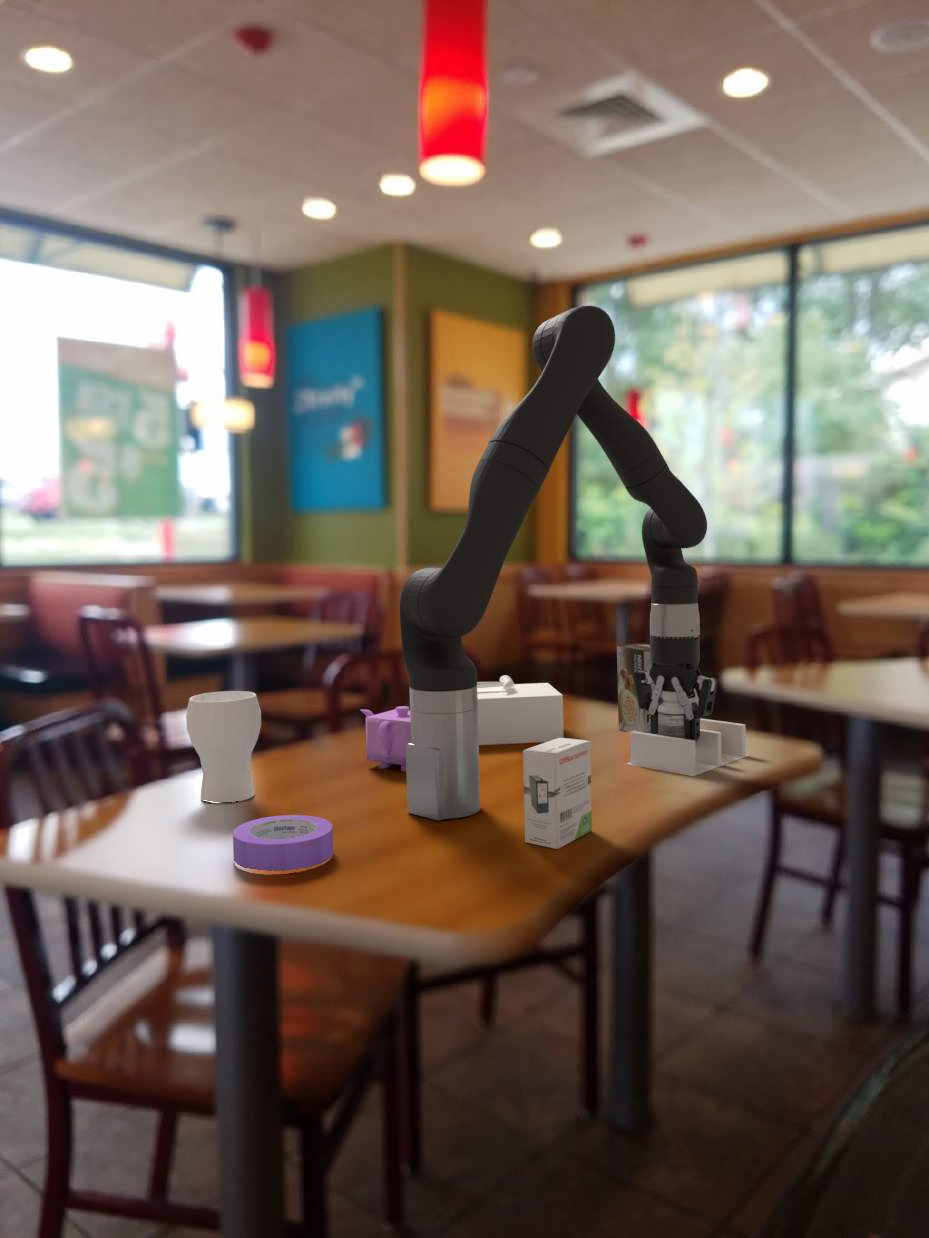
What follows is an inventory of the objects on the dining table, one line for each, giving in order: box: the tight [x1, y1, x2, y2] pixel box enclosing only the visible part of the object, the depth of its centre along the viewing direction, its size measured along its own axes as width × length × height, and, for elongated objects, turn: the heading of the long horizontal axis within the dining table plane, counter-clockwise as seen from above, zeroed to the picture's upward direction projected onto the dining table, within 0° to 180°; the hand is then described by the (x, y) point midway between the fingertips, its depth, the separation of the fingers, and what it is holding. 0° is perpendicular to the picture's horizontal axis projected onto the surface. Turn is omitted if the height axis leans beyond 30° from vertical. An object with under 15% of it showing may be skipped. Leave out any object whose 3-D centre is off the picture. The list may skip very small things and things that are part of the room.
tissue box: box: [477, 674, 564, 746], centre depth 179 cm, size 14×25×11 cm, turn 96°
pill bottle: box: [658, 691, 689, 739], centre depth 150 cm, size 5×5×10 cm
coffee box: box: [616, 643, 655, 734], centre depth 179 cm, size 9×6×16 cm
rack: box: [626, 718, 750, 777], centre depth 153 cm, size 17×12×6 cm
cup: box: [185, 690, 262, 803], centre depth 141 cm, size 11×11×15 cm
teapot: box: [360, 705, 411, 773], centre depth 158 cm, size 18×13×10 cm
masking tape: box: [232, 814, 334, 871], centre depth 114 cm, size 12×12×4 cm
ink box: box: [522, 737, 593, 850], centre depth 119 cm, size 9×5×12 cm, turn 142°
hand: (675, 739), depth 150 cm, fingers closed on pill bottle, 5 cm apart
